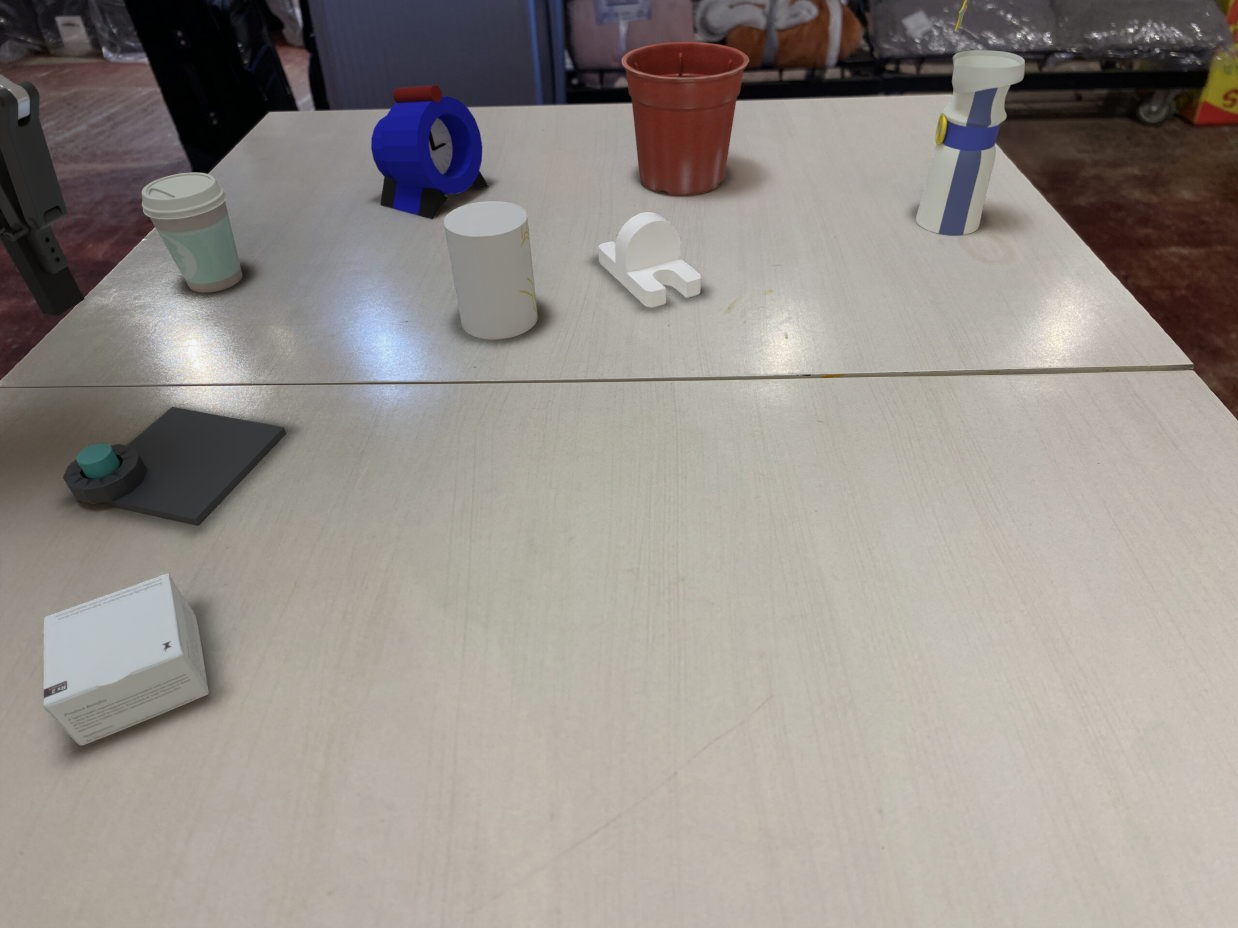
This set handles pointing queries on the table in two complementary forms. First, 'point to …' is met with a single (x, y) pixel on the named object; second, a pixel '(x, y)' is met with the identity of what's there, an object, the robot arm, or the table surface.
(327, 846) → the table surface
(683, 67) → the flower pot
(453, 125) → the alarm clock
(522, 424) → the table surface
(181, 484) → the scale
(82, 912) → the table surface
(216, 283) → the coffee cup
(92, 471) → the button
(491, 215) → the cup
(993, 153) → the water bottle
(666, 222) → the slotted bracket
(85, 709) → the small box
